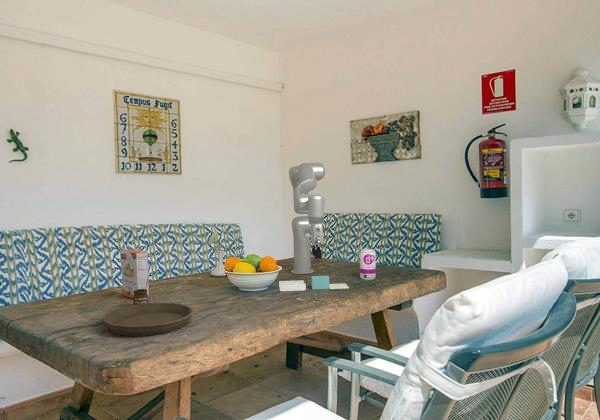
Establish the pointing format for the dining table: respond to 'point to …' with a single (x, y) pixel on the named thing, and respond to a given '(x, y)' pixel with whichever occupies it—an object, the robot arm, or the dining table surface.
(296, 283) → the channel
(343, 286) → the tile
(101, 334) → the dining table surface
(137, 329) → the plant saucer
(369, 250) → the supplement can
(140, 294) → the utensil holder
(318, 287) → the teal block
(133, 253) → the cracker box
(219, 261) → the flower in vase
